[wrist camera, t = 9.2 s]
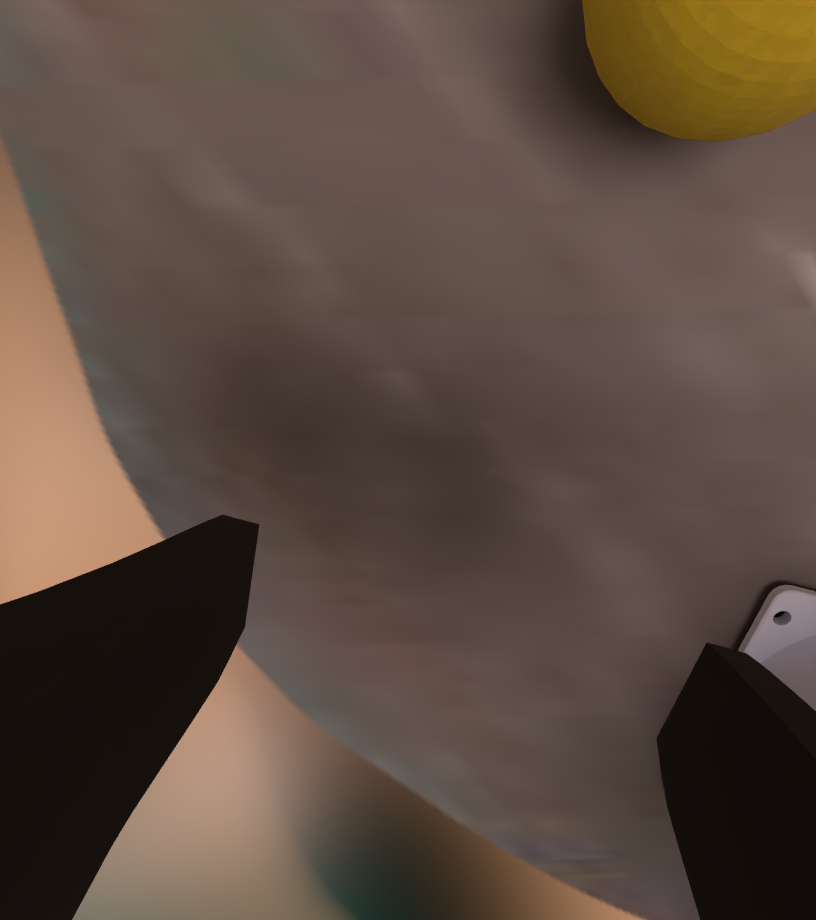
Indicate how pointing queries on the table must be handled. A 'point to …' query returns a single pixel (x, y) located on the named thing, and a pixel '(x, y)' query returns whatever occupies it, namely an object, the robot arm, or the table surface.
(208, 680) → the robot arm
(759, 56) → the lemon
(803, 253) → the table surface
